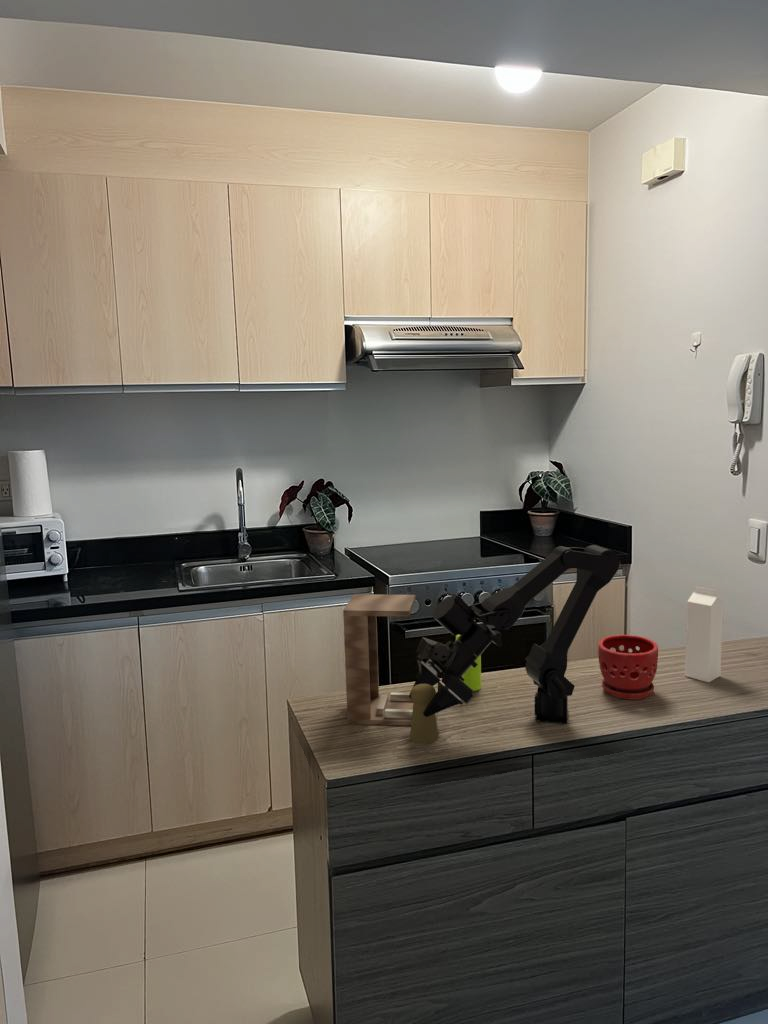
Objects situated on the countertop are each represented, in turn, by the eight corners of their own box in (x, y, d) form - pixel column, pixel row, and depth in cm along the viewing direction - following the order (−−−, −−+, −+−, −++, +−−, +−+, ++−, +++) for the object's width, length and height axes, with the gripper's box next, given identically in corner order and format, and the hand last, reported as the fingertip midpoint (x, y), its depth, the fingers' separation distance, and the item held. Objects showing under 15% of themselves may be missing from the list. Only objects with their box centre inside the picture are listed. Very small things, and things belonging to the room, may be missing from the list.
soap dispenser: (466, 694, 177) (465, 612, 174) (452, 684, 183) (450, 604, 180) (488, 690, 179) (487, 608, 176) (473, 680, 185) (472, 601, 182)
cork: (436, 744, 152) (435, 692, 151) (407, 742, 154) (405, 690, 152) (440, 731, 158) (439, 681, 156) (412, 729, 159) (410, 679, 158)
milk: (696, 670, 188) (699, 583, 185) (720, 676, 183) (724, 587, 180) (684, 676, 184) (687, 588, 181) (708, 683, 180) (712, 592, 176)
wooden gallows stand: (439, 701, 173) (437, 594, 169) (435, 726, 161) (433, 611, 157) (357, 699, 176) (354, 594, 172) (347, 723, 163) (343, 610, 159)
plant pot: (591, 682, 182) (592, 634, 180) (647, 681, 182) (648, 633, 180) (605, 704, 169) (606, 653, 167) (665, 703, 169) (666, 652, 167)
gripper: (425, 612, 162) (377, 667, 161) (457, 638, 144) (403, 700, 143) (460, 643, 165) (413, 698, 164) (495, 672, 148) (443, 734, 146)
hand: (417, 706), depth 154 cm, fingers open, 9 cm apart
